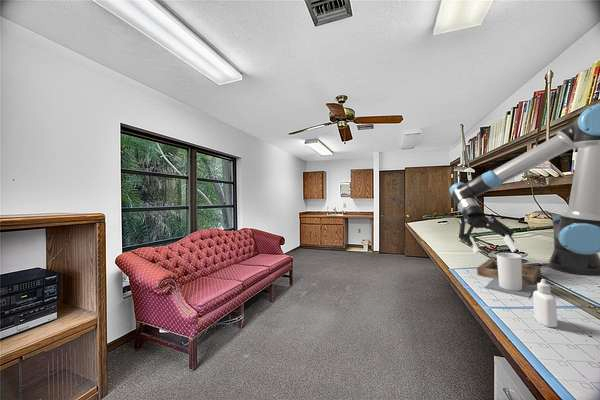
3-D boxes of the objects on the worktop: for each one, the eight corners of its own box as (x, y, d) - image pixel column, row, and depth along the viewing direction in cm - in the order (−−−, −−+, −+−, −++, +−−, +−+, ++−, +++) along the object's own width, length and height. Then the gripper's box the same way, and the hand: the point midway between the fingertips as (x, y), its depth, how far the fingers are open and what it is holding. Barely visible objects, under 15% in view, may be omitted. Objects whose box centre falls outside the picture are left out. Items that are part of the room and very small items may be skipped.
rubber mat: (536, 287, 85) (535, 286, 85) (529, 297, 78) (529, 296, 78) (494, 279, 95) (494, 278, 95) (485, 287, 88) (484, 286, 88)
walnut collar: (540, 273, 97) (540, 266, 97) (532, 285, 87) (532, 277, 86) (489, 265, 110) (489, 259, 110) (477, 274, 100) (477, 268, 100)
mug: (521, 293, 81) (519, 259, 80) (496, 287, 86) (494, 255, 86) (526, 284, 87) (524, 252, 86) (502, 279, 92) (501, 249, 92)
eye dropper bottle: (556, 320, 65) (554, 278, 64) (557, 329, 61) (555, 284, 60) (534, 315, 68) (532, 274, 67) (533, 324, 64) (531, 280, 64)
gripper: (497, 213, 107) (525, 254, 93) (439, 217, 111) (458, 257, 96) (505, 202, 102) (536, 244, 88) (444, 207, 105) (465, 247, 91)
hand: (496, 251), depth 92 cm, fingers open, 13 cm apart
